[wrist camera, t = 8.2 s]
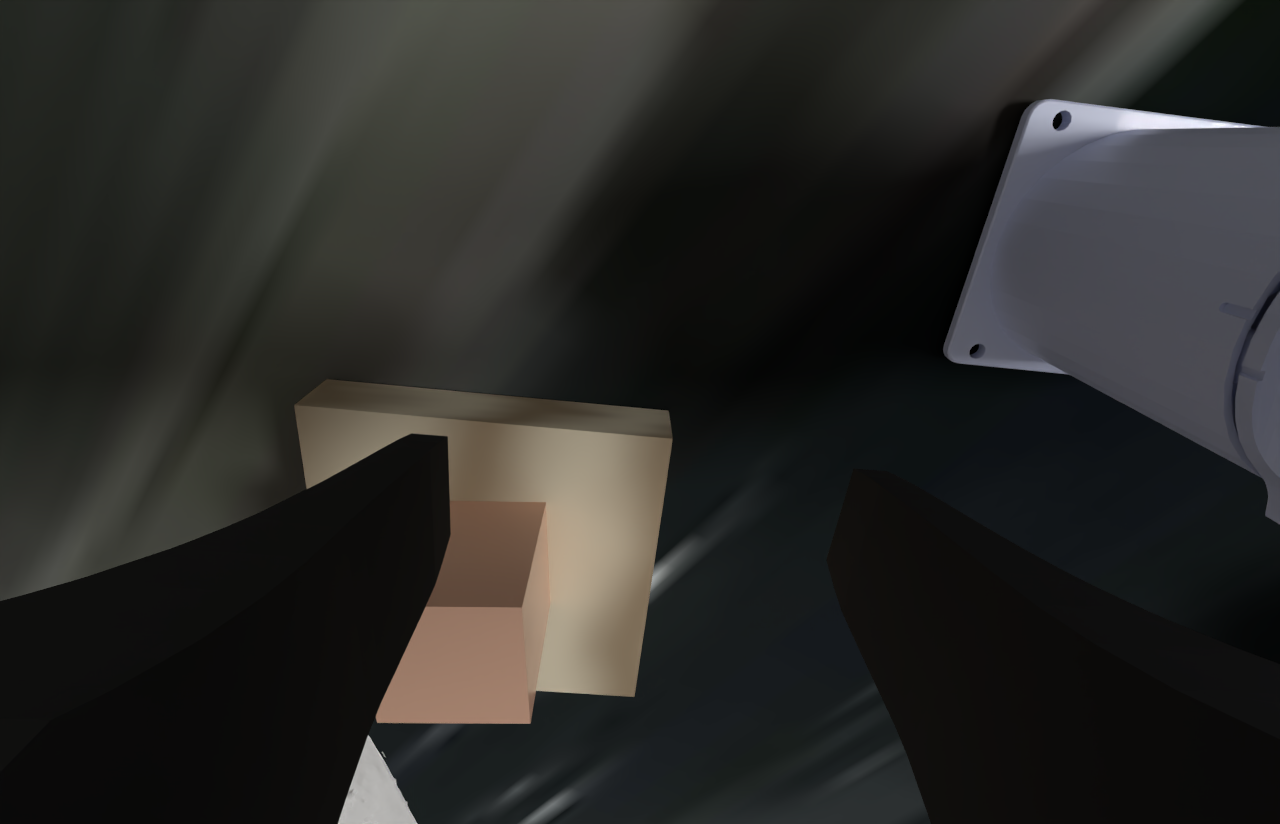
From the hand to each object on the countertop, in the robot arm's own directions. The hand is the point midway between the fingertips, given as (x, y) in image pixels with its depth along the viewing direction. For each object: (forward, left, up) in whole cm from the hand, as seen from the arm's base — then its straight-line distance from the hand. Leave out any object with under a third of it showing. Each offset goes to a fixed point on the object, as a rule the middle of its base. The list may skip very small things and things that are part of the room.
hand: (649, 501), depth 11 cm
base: (+5, +9, -10) cm, 14 cm away
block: (+5, +8, -8) cm, 12 cm away
